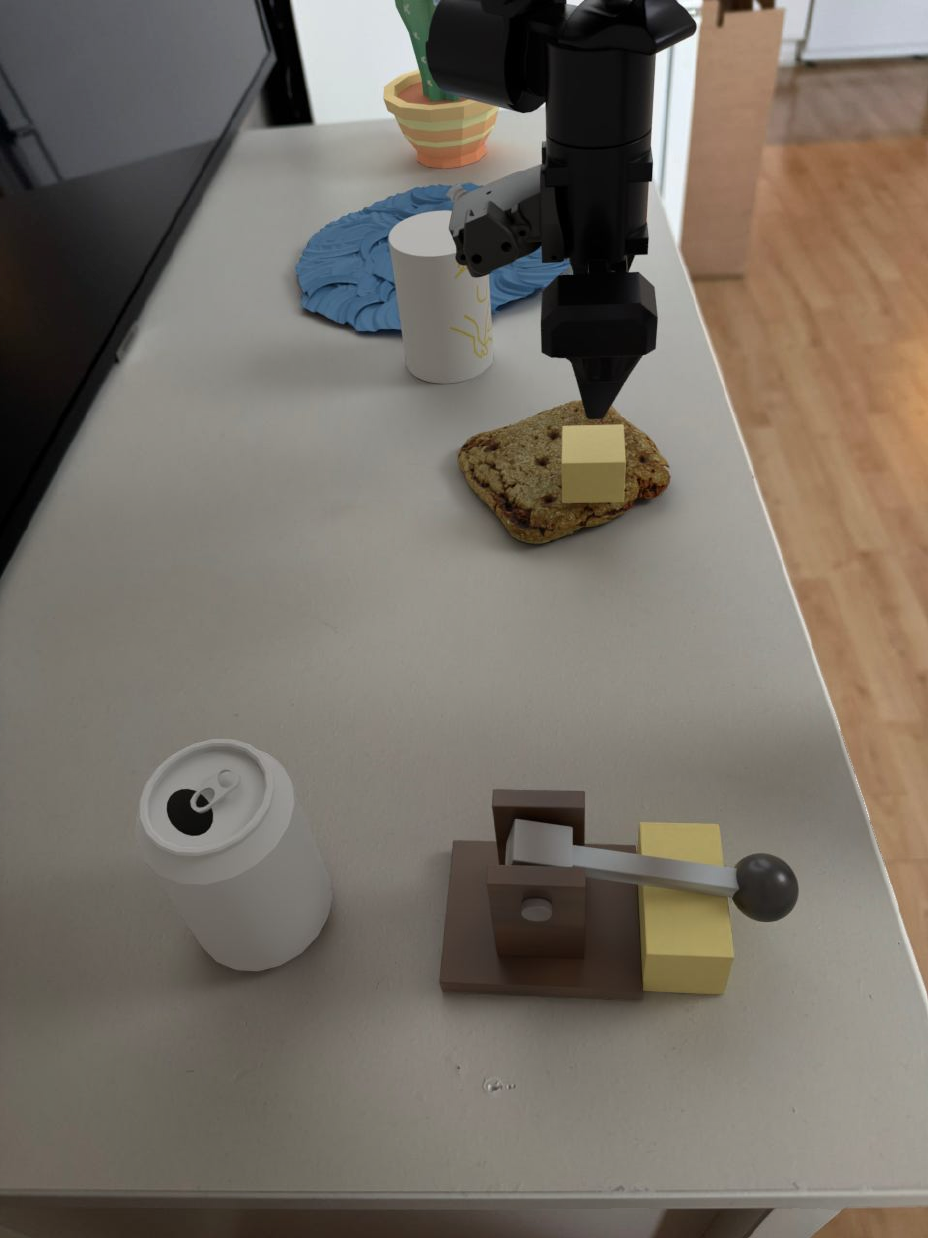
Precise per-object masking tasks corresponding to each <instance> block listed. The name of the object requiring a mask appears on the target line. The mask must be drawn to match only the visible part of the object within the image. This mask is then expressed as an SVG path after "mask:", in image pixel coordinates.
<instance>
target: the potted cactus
mask: <svg viewBox="0 0 928 1238" xmlns="http://www.w3.org/2000/svg"><path fill="white" fill-rule="evenodd" d="M439 1H440V0H394V4H395V8H396V11H397V13H398V14H399V16H400V18H401V20H402V22H403V24H404V26H405V28H406V31H407V33H408V34H409V35H408V36H409V39H410V42H411V47H412V50H413V54H414V57H415V60H416V64H417V68H418V69H416V70H413V71H410V72H406V73H403V74H400V75H398V76H397V77H395V78H394V79H392V80H391V81H390V82H389V83H387V84H385V85H384V86H383V96H382V99H383V102H384V105H385V107H386V110H387V112H389V113H391V114H392V115H393V116H394V117H395V121H396V122H397V124H398V127H399V128H400V131H401V133H402V136H404V138H405V139H406V140H407V141H408V143H409V144H411V146H412V147H413V148H414V149H415V150H416V162H418V163H420V164H421V165H423V166H425V167H426V168H432V169H433V168H434V169H442V170H444V169H452V168H462V167H465V166H467V165H468V166H469V165H471V164H473V163H474V164H475V163H477V162H479V161H480V160H481V159H482V158H483V157H484V156H486V154H487V149H486V145H485V143H486V142H487V140H488V138H489V136H490V134H491V133H492V131H493V129H494V128H495V125H496V121H497V117H498V113H499V109H500V107H497V106H493V105H489V104H485V103H482V102H478V101H474V100H470V99H466V98H462V97H459V96H455V95H451V94H448V93H445V92H444V91H443V90H441V89H440V88H439V87H438V86H437V84H436V83H435V82H434V80H433V78H432V76H431V74H430V71H429V69H428V64H427V59H426V49H425V44H426V41H427V40H428V36H429V28H430V24H431V20H432V17H433V14H434V11H435V9H436V7H437V5H438V2H439Z"/></svg>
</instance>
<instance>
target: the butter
mask: <svg viewBox="0 0 928 1238" xmlns="http://www.w3.org/2000/svg"><path fill="white" fill-rule="evenodd" d="M636 854H639V855H646V856H653V857H660V858H667V859H674V860H681V861H688V862H695V863H702V864H709V865H716V866H723V867H725V864H724V855H723V846H722V836H721V829H720V825H719V824H718V823H691V822H688V823H687V822H684V823H683V822H647V821H645V822H643V821H640V822H639V824H638V834H637V846H636ZM638 896H639V917H640V939H641V960H642V981H643V992H655V993H656V992H657V993H679V994H680V993H682V994H698V995H699V994H701V995H702V994H703V995H720V996H721V995H724V994H725V991H726V987H727V983H728V980H729V977H730V975H731V974H730V973H731V970H732V967H733V963H734V960H735V950H734V943H733V935H732V934H733V932H732V925H731V917H730V916H731V915H730V906H729V900H728V899H729V897H722V896H715V895H708V894H701V893H694V892H687V891H680V890H673V889H666V888H659V887H652V886H645V885H638Z"/></svg>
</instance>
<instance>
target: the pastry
mask: <svg viewBox="0 0 928 1238" xmlns="http://www.w3.org/2000/svg"><path fill="white" fill-rule="evenodd" d="M620 424H623V425H624V438H625V456H626V470H625V490H624V502H597V503H562V468H561V460H562V426H577V425H620ZM457 464H458V466H459V468H460V470H461V471H462V472H463V474H464V478H465V479H466V482H467V485H469V487H470V488H471V489H472V491H473V492H474V493H475V494H476V496H478V498H479V499H480V500H481V501H483V502H484V503H485V504H486V505H488V507H489V508H490V509H491V511H492V512H493V513H494V514H495V516H496V517H498V518H499V519H500V521H501V522H502V524H503V525H504V527H505V530H507V532H508V533H509V535H510V536H512V537H513V538H514V539H516V540H517V541H519V542H523V543H526V544H531V545H542V544H547V543H550V542H551V541H553V542H555V541H557V540H559V539H561V538H563V537H565V536H569V535H573V534H574V531H577V530H580V529H582V528H592V527H597V526H601V525H605V524H607V523H609V522H611V521H613V520H614V519H615V518H617V517H619V516H621V515H624V514H626V513H627V512H629V511H632V509H633V508H635V507H636V506H635V505H636V504H635V501H636V500H637V499H641V498H645V499H646V500H651V499H656V498H659V497H661V496H662V495H663V493H665V491H666V490H667V489H668V487H669V484H670V483H671V477H672V476H671V475H670V473H669V470H668V469H670V464H669V463H668V460H667V459H666V458H665V456H663V455H662V454H661V452H660V450H659V448H658V446H657V445H656V443H655V441H654V440H653V439H652V438H651V437H650V436H649V435H647V434H646V433H645V432H644V431H643V430H641V429H640V428H638V427H636V425H634V424H633V423H632V422H630V421H629V420H627V419H626V418H625V417H622V415H621V414H620V413H619V412H618V410H617V409H616V408H615V407H614V406H613V404H612V405H611V407H610V409H609V410H608V412H607V414H606V415H605V417H604V418H603V419H588V418H587V417H586V414H585V411H584V407H583V403H582V400H581V399H580V400H571V401H569V402H565V403H564V404H560V405H559V406H555V407H552V408H551V409H547V410H543V411H541V412H538V413H536V414H534V415H532V416H528V417H526V418H525V419H521V420H519V421H517V422H514V423H513V424H511V423H509V424H508V425H505V426H502V427H498V428H494V429H493V430H489V431H483V432H480V433H477V434H475V435H472V436H471V437H470V438H467V440H466V441H465V442H464V443H463V444H462V446H461V447H460V448H459V450H458V451H457ZM667 468H668V469H667Z"/></svg>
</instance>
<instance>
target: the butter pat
mask: <svg viewBox="0 0 928 1238" xmlns="http://www.w3.org/2000/svg"><path fill="white" fill-rule="evenodd" d="M561 468H562V503H597V502H624V490H625V470H626V456H625V438H624V425H623V424H620V425H577V426H562V460H561Z"/></svg>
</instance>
